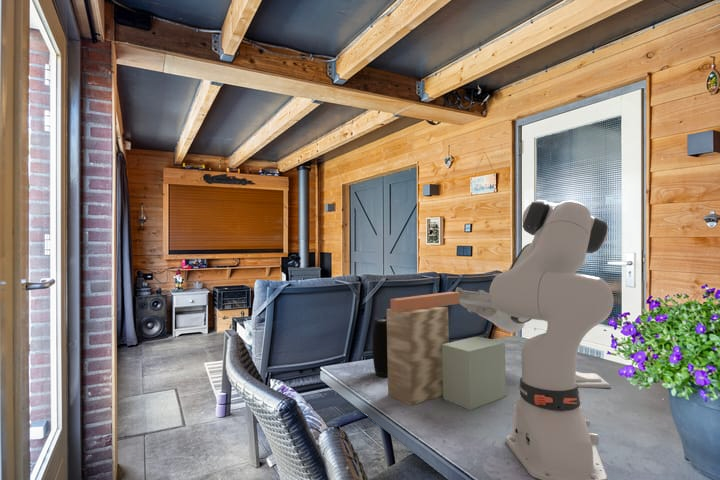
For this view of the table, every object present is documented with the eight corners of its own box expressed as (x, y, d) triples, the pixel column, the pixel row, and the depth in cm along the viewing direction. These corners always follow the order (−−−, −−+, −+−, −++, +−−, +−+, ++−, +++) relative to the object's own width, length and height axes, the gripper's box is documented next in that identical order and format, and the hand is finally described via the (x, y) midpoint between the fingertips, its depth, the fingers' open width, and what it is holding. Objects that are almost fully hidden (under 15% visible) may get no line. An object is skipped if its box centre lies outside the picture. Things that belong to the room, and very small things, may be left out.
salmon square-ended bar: (451, 302, 134) (451, 291, 134) (459, 303, 131) (459, 292, 131) (390, 310, 119) (390, 299, 119) (398, 312, 116) (398, 300, 116)
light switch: (555, 366, 138) (596, 365, 135) (556, 378, 138) (597, 378, 135) (565, 377, 127) (610, 376, 125) (566, 390, 127) (611, 389, 124)
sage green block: (478, 386, 128) (477, 336, 128) (506, 396, 119) (505, 342, 119) (443, 398, 118) (442, 344, 119) (470, 409, 110) (468, 351, 110)
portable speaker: (400, 378, 137) (399, 320, 137) (373, 378, 137) (371, 321, 137) (398, 369, 146) (397, 315, 146) (372, 370, 146) (371, 316, 146)
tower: (426, 383, 131) (425, 303, 131) (449, 392, 123) (448, 307, 123) (388, 394, 122) (386, 309, 122) (410, 405, 114) (408, 313, 114)
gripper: (514, 319, 133) (491, 302, 127) (466, 311, 150) (443, 296, 143) (520, 302, 135) (497, 284, 128) (471, 296, 152) (448, 280, 145)
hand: (468, 290), depth 136 cm, fingers open, 8 cm apart
